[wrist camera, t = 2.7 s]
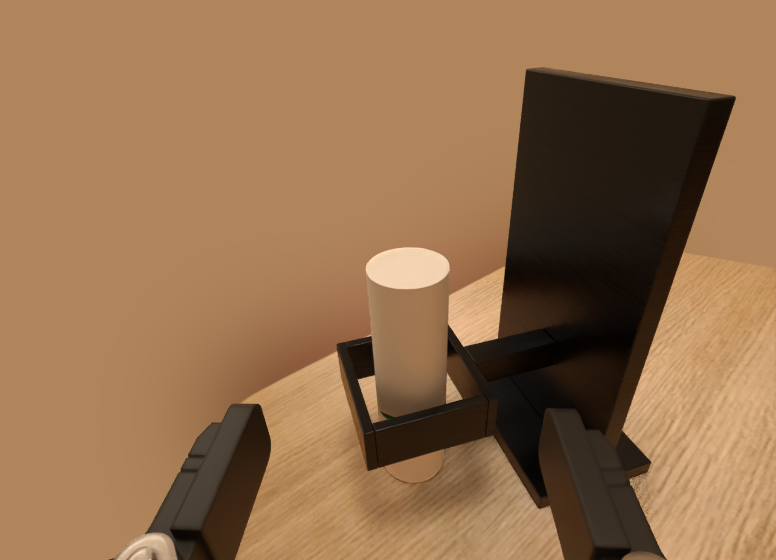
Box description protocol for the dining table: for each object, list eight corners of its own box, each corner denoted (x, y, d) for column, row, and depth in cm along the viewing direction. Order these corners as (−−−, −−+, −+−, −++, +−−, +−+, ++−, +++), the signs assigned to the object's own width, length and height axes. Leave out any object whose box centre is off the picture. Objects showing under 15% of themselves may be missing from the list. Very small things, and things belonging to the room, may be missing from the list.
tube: (373, 440, 31) (355, 256, 23) (428, 422, 32) (428, 241, 25) (395, 492, 28) (382, 297, 20) (455, 469, 29) (464, 277, 21)
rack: (383, 560, 24) (339, 144, 12) (342, 405, 34) (295, 90, 22) (648, 472, 28) (810, 87, 16) (542, 354, 38) (593, 62, 26)
